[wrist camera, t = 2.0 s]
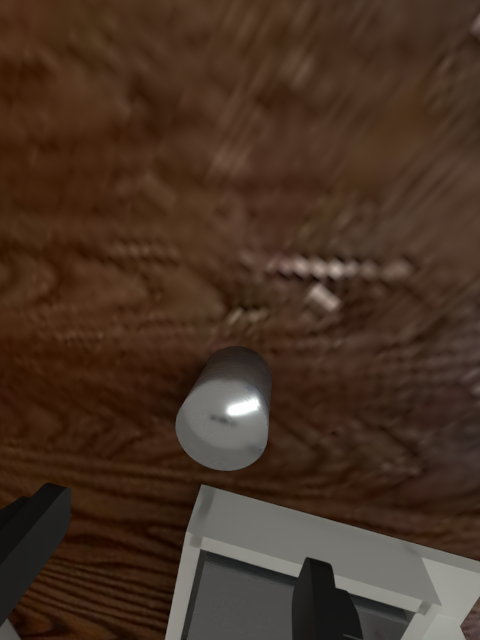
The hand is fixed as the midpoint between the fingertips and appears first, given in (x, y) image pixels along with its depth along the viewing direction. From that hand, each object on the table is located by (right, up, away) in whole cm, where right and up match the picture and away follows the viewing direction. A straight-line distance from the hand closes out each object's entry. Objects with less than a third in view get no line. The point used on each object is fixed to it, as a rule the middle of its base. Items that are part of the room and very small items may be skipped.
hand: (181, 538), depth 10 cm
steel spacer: (+2, +3, +11) cm, 12 cm away
